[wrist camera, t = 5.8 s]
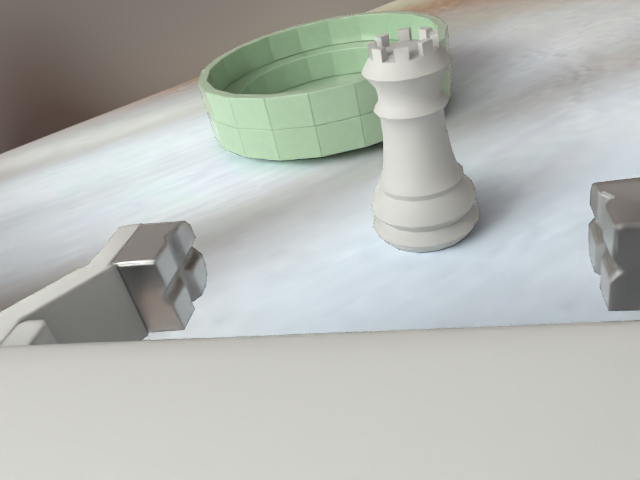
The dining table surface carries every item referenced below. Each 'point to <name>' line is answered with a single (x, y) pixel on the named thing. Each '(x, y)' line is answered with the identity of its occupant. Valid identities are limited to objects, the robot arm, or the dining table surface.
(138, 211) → the dining table surface
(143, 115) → the dining table surface
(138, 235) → the robot arm
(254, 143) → the bowl
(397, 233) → the rook chess piece
